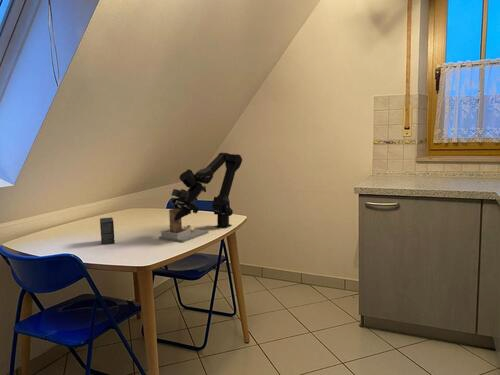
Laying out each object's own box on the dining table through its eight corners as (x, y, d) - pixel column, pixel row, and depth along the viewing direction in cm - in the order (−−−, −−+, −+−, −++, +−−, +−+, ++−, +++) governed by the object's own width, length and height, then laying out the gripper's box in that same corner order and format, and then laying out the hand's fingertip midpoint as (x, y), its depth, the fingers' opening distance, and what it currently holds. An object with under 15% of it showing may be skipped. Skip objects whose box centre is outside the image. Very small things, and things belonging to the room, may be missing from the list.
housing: (185, 229, 210) (185, 222, 209) (208, 232, 203) (208, 224, 202) (159, 238, 192) (158, 230, 192) (182, 242, 185) (182, 233, 185)
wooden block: (177, 231, 196) (176, 208, 195) (181, 232, 193) (181, 209, 192) (170, 232, 194) (169, 209, 192) (174, 234, 191) (173, 210, 189)
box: (101, 240, 190) (99, 218, 189) (114, 239, 192) (112, 217, 191) (101, 245, 183) (100, 221, 181) (114, 243, 185) (113, 220, 183)
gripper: (172, 180, 200) (151, 206, 195) (192, 184, 185) (171, 211, 180) (186, 195, 206) (167, 220, 200) (207, 199, 191) (187, 226, 186)
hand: (172, 219), depth 192 cm, fingers closed on wooden block, 4 cm apart
